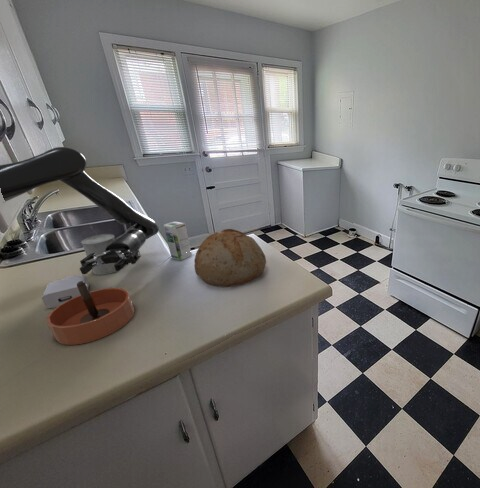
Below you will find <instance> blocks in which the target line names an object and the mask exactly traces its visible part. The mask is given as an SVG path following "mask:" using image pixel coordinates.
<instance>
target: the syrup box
mask: <svg viewBox="0 0 480 488" xmlns="http://www.w3.org/2000/svg"><path fill="white" fill-rule="evenodd" d="M163 230H164V233H165V234H164V235H165V237H166V241H167V245H168V249H169V253H170V254H169V255H170V257H171V259H174V260H178V261H183V260H185V259H187V258H189V257H191V256H192V255H193V252H192V249H191V248H192V247H191V244H190V239H189V234H188V230H187V226H186V223H185V222H180V221H172V222H171V221H170V222H168V223H165V224H163ZM190 251H191V252H190ZM186 252H187V253H186Z"/></svg>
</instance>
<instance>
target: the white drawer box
mask: <svg viewBox="0 0 480 488" xmlns="http://www.w3.org/2000/svg"><path fill="white" fill-rule="evenodd" d="M80 281H84V282H85V283H86V285H87V287H88V288H89V285H90V283H89V282H88V281H89V280H88V279H87V277H86V275H85V274H81V275H75V274H74V275H71V276H65V277H63V278H62V279H57V280H54V281H50V282H49V283H48V284H47V286H46V288H45V290H44V292H43V294H42V296H41V300H42V302H43V304H44V306H45V307H46V308H47V309H55V308H56V307H57V306H59V305H61V304H62V303H64V302H66V301H68V300H69V299H72V298H74V297H76V296H79V295H81V294H80V292H79V290H78V287H77V283H78V282H80Z"/></svg>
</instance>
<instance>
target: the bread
mask: <svg viewBox="0 0 480 488" xmlns="http://www.w3.org/2000/svg"><path fill="white" fill-rule="evenodd" d="M193 261H194V262H193V263H194V265H193V267H194V272H195V273H196V275H197V276H198V277H200V280H202V281H203V282H204V283H205V284H207V285H209V286H213V287H220V288H221V287H222V288H231V287H236V286H240V285H245V284H246V283H249V282H251V281H252V280H254V279H255V278H256V277H258V276H260V275H261V274H262V272H263V271H264V270H265V268H266V264H267V259H266V255H265V253H264V251H263V250H262V248H261V246H260V245H259V243H258V242H257V240H255V239H254V238H253V237H252V236H250V235H246V234H245V233H244V232H242V231H240V230H237V229H234V228H225V229H222V230H221V231H219V232H217V231H215V232H213V233H211V234H209V235H208V236H207V237H206V238H205V239H204V240H203V241H202V243H200V245H199V247H198V248H197V250H196V253H195V255H194V260H193Z"/></svg>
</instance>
